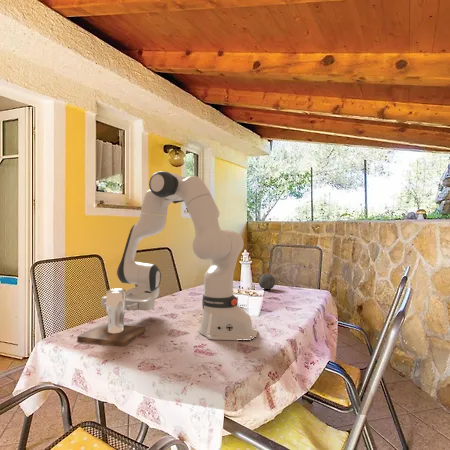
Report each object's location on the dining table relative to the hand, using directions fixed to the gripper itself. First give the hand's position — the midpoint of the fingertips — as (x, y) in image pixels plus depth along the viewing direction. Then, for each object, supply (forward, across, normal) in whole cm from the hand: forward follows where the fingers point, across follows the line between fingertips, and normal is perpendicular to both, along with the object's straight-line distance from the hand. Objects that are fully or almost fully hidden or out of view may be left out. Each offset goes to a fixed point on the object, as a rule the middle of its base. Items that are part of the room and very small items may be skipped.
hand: (116, 307), depth 124 cm
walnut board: (+2, 0, +10) cm, 10 cm away
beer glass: (+2, +1, +9) cm, 9 cm away
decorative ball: (-98, +44, +10) cm, 108 cm away
